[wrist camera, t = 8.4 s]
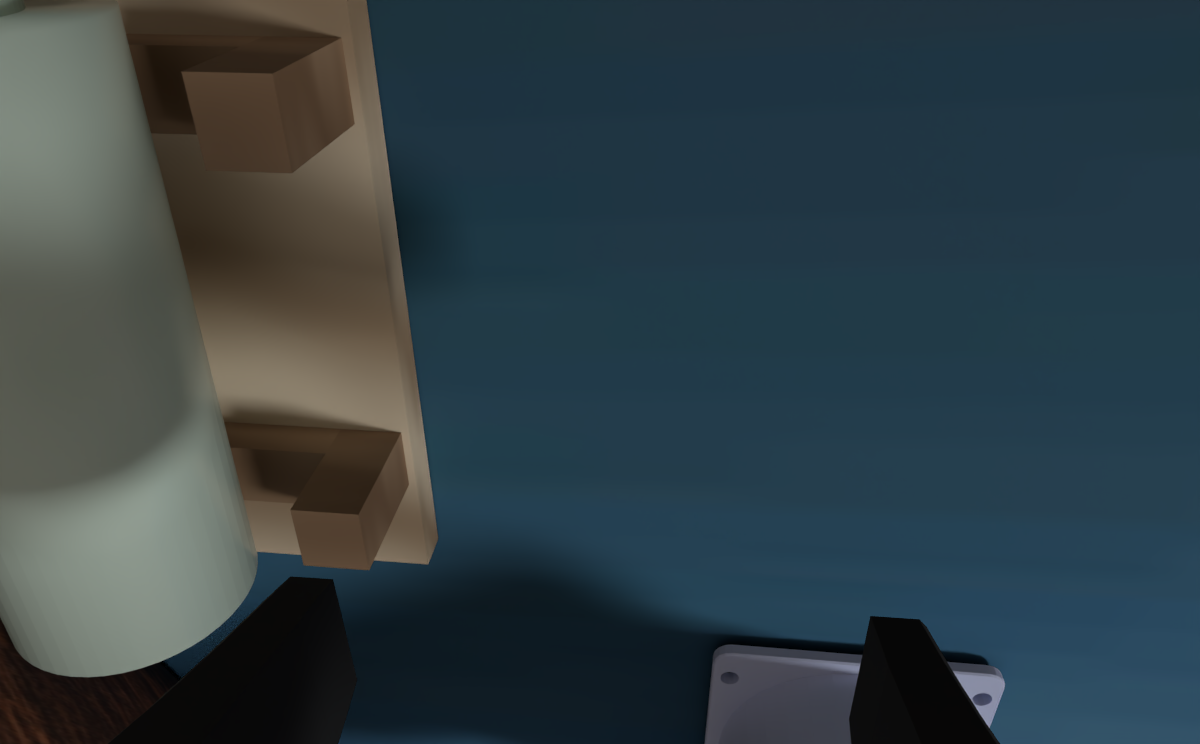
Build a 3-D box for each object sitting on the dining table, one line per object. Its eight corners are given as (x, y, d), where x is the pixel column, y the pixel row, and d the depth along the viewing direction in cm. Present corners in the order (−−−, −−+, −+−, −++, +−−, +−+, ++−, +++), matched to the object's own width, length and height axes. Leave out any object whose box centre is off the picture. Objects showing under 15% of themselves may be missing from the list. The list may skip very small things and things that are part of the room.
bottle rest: (438, 538, 24) (393, 654, 20) (85, 513, 25) (-15, 619, 21) (348, -132, 15) (248, -127, 12) (-182, -132, 16) (-416, -128, 13)
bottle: (291, 519, 21) (192, 687, 17) (98, 504, 21) (-48, 665, 17) (122, -263, 13) (-153, -317, 9) (-188, -270, 13) (-599, -325, 9)
